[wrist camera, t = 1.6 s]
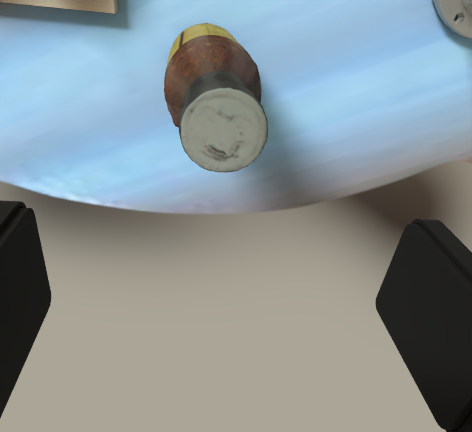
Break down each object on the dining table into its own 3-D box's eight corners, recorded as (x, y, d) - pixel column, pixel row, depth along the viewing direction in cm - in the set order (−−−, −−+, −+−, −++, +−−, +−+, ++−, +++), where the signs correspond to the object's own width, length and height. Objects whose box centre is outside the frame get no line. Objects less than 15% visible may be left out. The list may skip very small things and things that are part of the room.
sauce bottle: (199, 108, 36) (200, 225, 19) (155, 50, 33) (112, 129, 16) (257, 66, 34) (312, 153, 18) (216, 1, 31) (237, 32, 15)
